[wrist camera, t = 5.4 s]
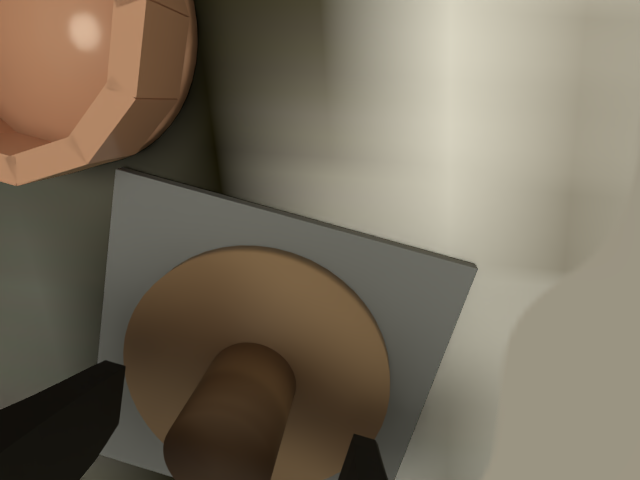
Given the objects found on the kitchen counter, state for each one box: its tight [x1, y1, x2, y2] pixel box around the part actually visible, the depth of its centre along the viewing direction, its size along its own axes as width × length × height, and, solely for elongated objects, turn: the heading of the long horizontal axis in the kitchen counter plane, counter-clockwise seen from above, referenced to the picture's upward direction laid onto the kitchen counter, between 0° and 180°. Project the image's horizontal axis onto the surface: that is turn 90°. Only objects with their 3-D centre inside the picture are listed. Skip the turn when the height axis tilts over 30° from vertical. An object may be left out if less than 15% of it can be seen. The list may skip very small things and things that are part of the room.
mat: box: [97, 167, 478, 480], centre depth 15 cm, size 11×11×1 cm
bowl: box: [0, 0, 198, 186], centre depth 11 cm, size 8×8×3 cm
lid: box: [123, 245, 390, 480], centre depth 13 cm, size 9×9×4 cm
